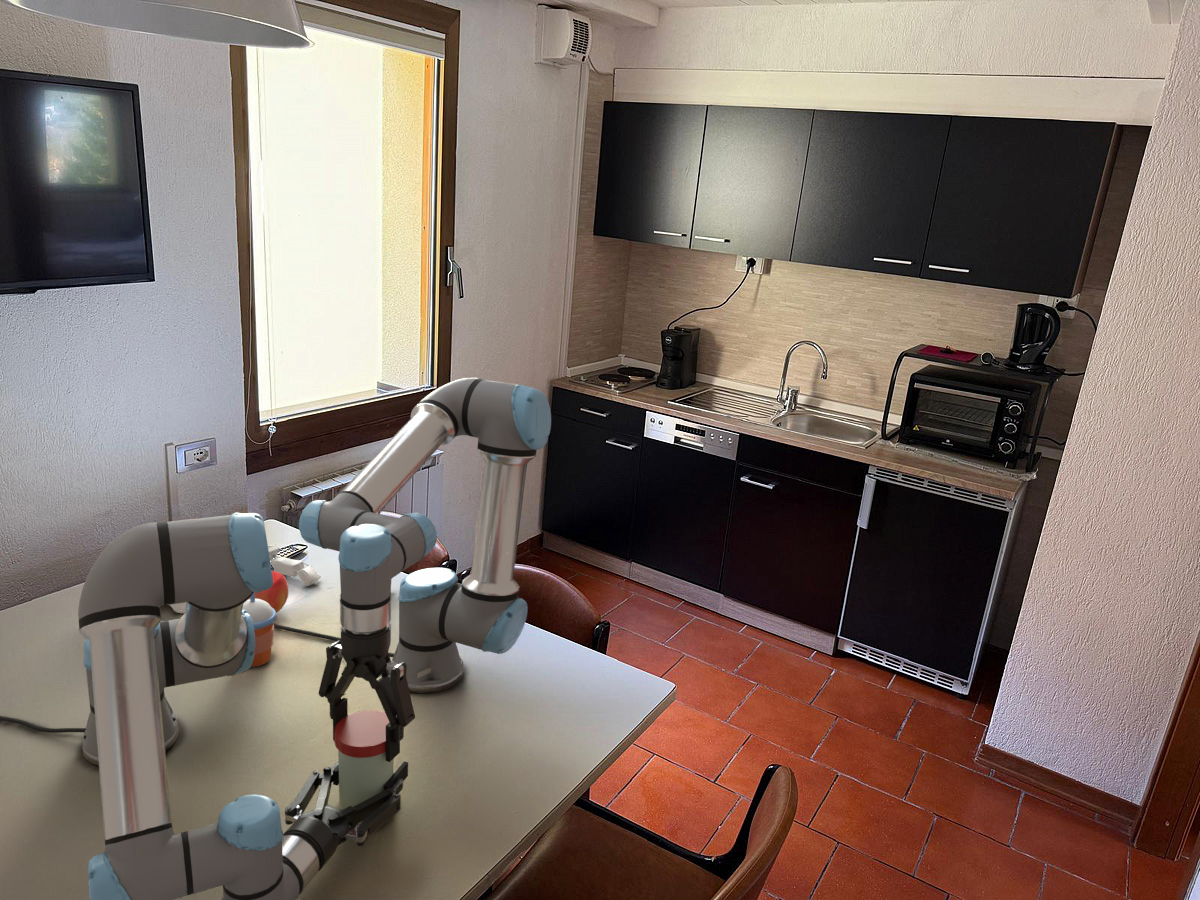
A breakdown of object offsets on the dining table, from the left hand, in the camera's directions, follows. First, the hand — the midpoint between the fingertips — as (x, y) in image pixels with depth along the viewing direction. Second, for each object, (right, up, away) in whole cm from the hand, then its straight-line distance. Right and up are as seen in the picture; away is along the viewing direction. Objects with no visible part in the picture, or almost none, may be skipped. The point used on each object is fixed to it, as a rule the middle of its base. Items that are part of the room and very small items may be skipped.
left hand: (381, 761), depth 145 cm
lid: (-1, +8, -7) cm, 10 cm away
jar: (-2, -7, -2) cm, 8 cm away
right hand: (-1, +5, -6) cm, 8 cm away
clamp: (-44, +20, +76) cm, 90 cm away
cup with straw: (-37, +8, +38) cm, 53 cm away
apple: (-41, +14, +56) cm, 71 cm away
